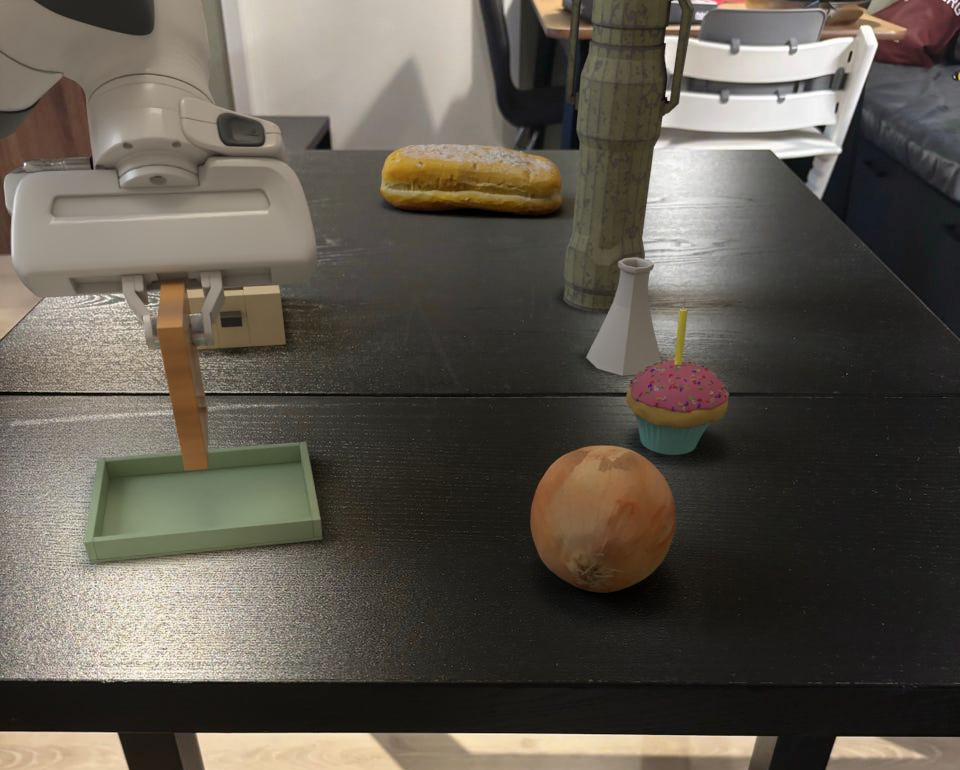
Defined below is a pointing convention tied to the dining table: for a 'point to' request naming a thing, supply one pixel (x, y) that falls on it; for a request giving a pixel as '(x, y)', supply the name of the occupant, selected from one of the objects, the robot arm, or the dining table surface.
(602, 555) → the onion
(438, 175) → the bread
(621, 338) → the flask
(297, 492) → the tray
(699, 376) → the cupcake
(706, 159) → the dining table surface
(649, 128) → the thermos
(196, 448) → the toast
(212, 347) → the toaster
